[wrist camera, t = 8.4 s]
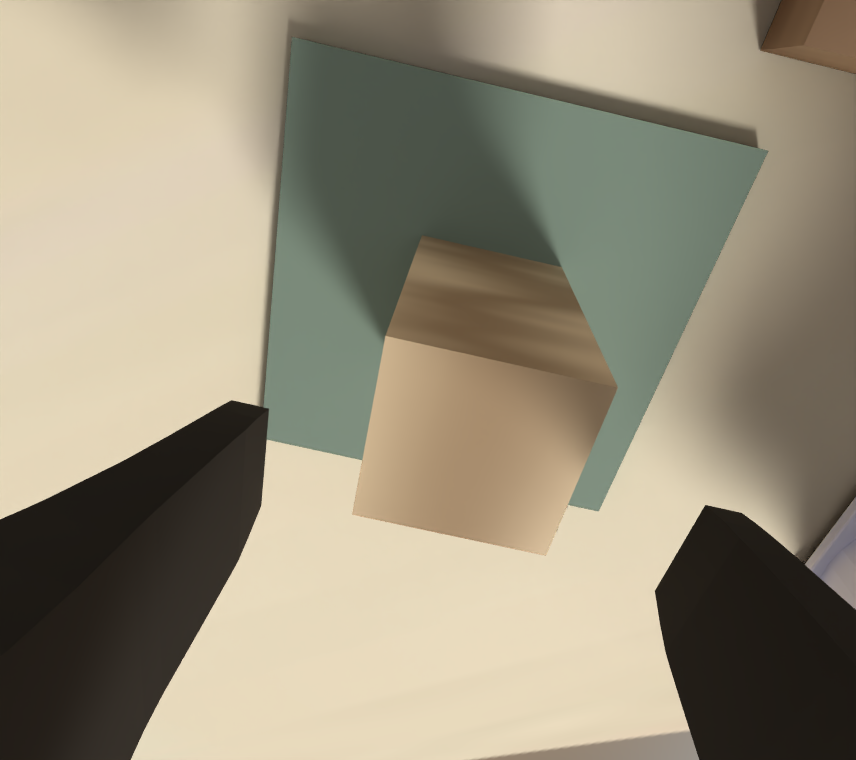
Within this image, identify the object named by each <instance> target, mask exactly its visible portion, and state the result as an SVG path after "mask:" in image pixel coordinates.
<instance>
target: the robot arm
mask: <svg viewBox="0 0 856 760" xmlns="http://www.w3.org/2000/svg"><path fill="white" fill-rule="evenodd" d="M268 417H269V408H264V407H259V406H255V405H250V404H246V403H241V402H237V401H232V400H231V401H229V402H228V403H226V404H224V405H222V406H220V407H218V408H217V409H215V410H213V411H211V412H210V413H208V414H206V415H204V416H203V417H201V418H199V419H197V420H196V421H194V422H192V423H190V424H189V425H187V426H185V427H183V428H182V429H180V430H178V431H176V432H175V433H173V434H171V435H169V436H168V437H166V438H164V439H162V440H160V441H159V442H157V443H155V444H153V445H151V446H149V447H148V448H146V449H144V450H142V451H140V452H139V453H137V454H135V455H133V456H131V457H130V458H128V459H126V460H124V461H122V462H120V463H118V464H116V465H114V466H112V467H110V468H108V469H106V470H104V471H102V472H100V473H98V474H96V475H94V476H92V477H90V478H88V479H86V480H84V481H82V482H80V483H78V484H76V485H74V486H72V487H70V488H68V489H66V490H64V491H62V492H60V493H58V494H56V495H54V496H52V497H50V498H48V499H45V500H43V501H41V502H39V503H37V504H34V505H32V506H30V507H28V508H26V509H23V510H21V511H19V512H16V513H14V514H12V515H9V516H7V517H5V518H3V519H0V760H131V758H132V755H133V753H134V751H135V749H136V747H137V745H138V742H139V740H140V738H141V736H142V734H143V731H144V729H145V727H146V725H147V723H148V722H149V720H150V718H151V716H152V714H153V712H154V710H155V708H156V706H157V704H158V702H159V700H160V698H161V697H162V695H163V693H164V691H165V689H166V688H167V686H168V684H169V682H170V681H171V679H172V677H173V675H174V674H175V672H176V670H177V668H178V666H179V665H180V663H181V661H182V659H183V658H184V656H185V654H186V652H187V651H188V649H189V647H190V645H191V644H192V642H193V640H194V638H195V637H196V635H197V633H198V631H199V630H200V628H201V626H202V624H203V623H204V621H205V619H206V617H207V616H208V614H209V612H210V610H211V609H212V607H213V605H214V603H215V601H216V600H217V598H218V596H219V594H220V593H221V591H222V589H223V587H224V585H225V584H226V582H227V580H228V578H229V576H230V575H231V573H232V571H233V569H234V567H235V566H236V564H237V562H238V560H239V558H240V555H241V553H242V551H243V548H244V546H245V544H246V541H247V539H248V537H249V534H250V532H251V529H252V527H253V524H254V522H255V519H256V517H257V515H258V512H259V510H260V507H261V501H262V489H263V477H264V465H265V453H266V441H267V429H268ZM655 594H656V601H657V607H658V614H659V620H660V626H661V631H662V636H663V641H664V646H665V651H666V655H667V658H668V662H669V665H670V669H671V672H672V675H673V678H674V682H675V685H676V688H677V691H678V694H679V698H680V701H681V704H682V707H683V710H684V713H685V717H686V720H687V723H688V726H689V729H690V732H691V735H692V738H693V741H694V745H695V748H696V751H697V754H698V757H699V760H856V497H855V498H854V500H853V501H852V502H851V504H850V505H849V506H848V508H847V509H846V510H845V512H844V513H843V514H842V516H841V517H840V518H839V520H838V521H837V522H836V524H835V525H834V526H833V528H832V529H831V530H830V532H829V533H828V534H827V536H826V537H825V538H824V540H823V541H822V542H821V544H820V545H819V546H818V548H817V549H816V550H815V551H814V553H813V554H812V555H811V557H810V558H809V559H808V561H807V562H806V563H805V565H804V564H803V563H802V562H801V561H800V560H799V559H798V558H796V557H795V556H794V555H793V554H792V553H791V552H790V551H788V550H787V549H786V548H785V547H784V546H783V545H781V544H780V543H779V542H778V541H777V540H776V539H774V538H773V537H772V536H771V535H770V534H768V533H767V532H766V531H765V530H763V529H762V528H761V527H760V526H758V525H757V524H756V523H755V522H753V521H752V520H750V519H749V518H748V517H746V516H745V515H744V514H742V513H739V512H735V511H730V510H726V509H721V508H716V507H712V506H707V505H705V507H704V508H703V510H702V512H701V514H700V515H699V517H698V519H697V520H696V522H695V524H694V525H693V527H692V529H691V531H690V532H689V534H688V536H687V537H686V539H685V541H684V542H683V544H682V546H681V548H680V549H679V551H678V553H677V554H676V556H675V558H674V559H673V561H672V563H671V565H670V566H669V568H668V570H667V571H666V573H665V575H664V576H663V578H662V580H661V582H660V583H659V585H658V587H657V588H656V590H655Z"/></svg>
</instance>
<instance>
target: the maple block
mask: <svg viewBox="0 0 856 760" xmlns="http://www.w3.org/2000/svg"><path fill="white" fill-rule="evenodd" d="M617 389H618V386H617V384H616V382H615V380H614V378H613V376H612V374H611V371H610V369H609V367H608V365H607V363H606V361H605V359H604V356H603V354H602V352H601V350H600V348H599V346H598V344H597V341H596V339H595V337H594V335H593V333H592V331H591V329H590V326H589V324H588V322H587V320H586V318H585V316H584V314H583V311H582V309H581V307H580V305H579V303H578V301H577V299H576V296H575V294H574V292H573V290H572V288H571V286H570V284H569V281H568V279H567V277H566V275H565V273H564V271H563V269H562V267H559V266H554V265H550V264H546V263H541V262H537V261H533V260H528V259H524V258H519V257H515V256H511V255H506V254H502V253H498V252H493V251H489V250H484V249H480V248H476V247H471V246H467V245H462V244H458V243H454V242H449V241H445V240H441V239H436V238H432V237H427V236H423V235H422V237H421V239H420V242H419V245H418V248H417V250H416V253H415V256H414V259H413V261H412V264H411V267H410V270H409V272H408V275H407V278H406V281H405V283H404V286H403V289H402V292H401V294H400V297H399V300H398V303H397V305H396V308H395V311H394V314H393V316H392V319H391V322H390V325H389V328H388V330H387V333H386V336H385V341H384V346H383V352H382V357H381V363H380V368H379V373H378V379H377V384H376V389H375V395H374V400H373V405H372V411H371V416H370V422H369V427H368V432H367V438H366V443H365V448H364V454H363V459H362V464H361V470H360V475H359V481H358V486H357V491H356V497H355V502H354V507H353V513H352V515H357V516H361V517H366V518H371V519H375V520H380V521H385V522H390V523H394V524H399V525H404V526H408V527H413V528H418V529H423V530H427V531H432V532H437V533H441V534H446V535H451V536H456V537H460V538H465V539H470V540H474V541H479V542H484V543H488V544H493V545H498V546H503V547H507V548H512V549H517V550H521V551H526V552H531V553H536V554H540V555H545V556H546V554H547V552H548V550H549V547H550V545H551V543H552V540H553V538H554V536H555V533H556V531H557V529H558V526H559V524H560V522H561V519H562V517H563V515H564V512H565V510H566V508H567V505H568V503H569V501H570V498H571V496H572V494H573V491H574V489H575V487H576V484H577V482H578V480H579V477H580V475H581V473H582V470H583V468H584V466H585V463H586V461H587V459H588V456H589V454H590V452H591V449H592V447H593V445H594V443H595V440H596V438H597V436H598V433H599V431H600V429H601V426H602V424H603V422H604V419H605V417H606V415H607V412H608V410H609V408H610V405H611V403H612V401H613V398H614V396H615V394H616V391H617Z"/></svg>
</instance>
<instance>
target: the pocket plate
mask: <svg viewBox="0 0 856 760" xmlns="http://www.w3.org/2000/svg"><path fill="white" fill-rule="evenodd" d="M760 51H764V52H768V53H773V54H777V55H781V56H785V57H789V58H793V59H797V60H801V61H805V62H809V63H813V64H818V65H822V66H826V67H830V68H834V69H838V70H842V71H846V72H850V73H854V74H856V0H782V1H781V3H780V5H779V8H778V10H777V12H776V15H775V17H774V19H773V22H772V24H771V26H770V29H769V31H768V33H767V36H766V38H765V40H764V43H763V45H762V47H761V50H760Z"/></svg>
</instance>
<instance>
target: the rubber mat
mask: <svg viewBox="0 0 856 760" xmlns="http://www.w3.org/2000/svg"><path fill="white" fill-rule="evenodd" d="M767 153H768V151H767V150H763V149H759V148H755V147H751V146H747V145H742V144H738V143H734V142H730V141H726V140H721V139H717V138H713V137H709V136H705V135H701V134H696V133H692V132H688V131H684V130H680V129H675V128H671V127H667V126H663V125H659V124H655V123H650V122H646V121H642V120H638V119H634V118H629V117H625V116H621V115H617V114H613V113H609V112H604V111H600V110H596V109H592V108H588V107H584V106H579V105H575V104H571V103H567V102H563V101H558V100H554V99H550V98H546V97H542V96H538V95H533V94H529V93H525V92H521V91H517V90H512V89H508V88H504V87H500V86H496V85H492V84H487V83H483V82H479V81H475V80H471V79H466V78H462V77H458V76H454V75H450V74H446V73H441V72H437V71H433V70H429V69H425V68H420V67H416V66H412V65H408V64H404V63H400V62H395V61H391V60H387V59H383V58H379V57H375V56H370V55H366V54H362V53H358V52H354V51H349V50H345V49H341V48H337V47H333V46H329V45H324V44H320V43H316V42H312V41H308V40H303V39H299V38H295V37H292V43H291V56H290V69H289V82H288V95H287V108H286V121H285V134H284V147H283V160H282V173H281V186H280V199H279V212H278V225H277V238H276V251H275V264H274V277H273V290H272V303H271V316H270V329H269V342H268V355H267V368H266V381H265V394H264V408H269V417H268V429H267V440H272V441H276V442H281V443H286V444H290V445H295V446H299V447H304V448H309V449H313V450H318V451H322V452H327V453H332V454H336V455H341V456H345V457H350V458H355V459H359V460H362V459H363V454H364V448H365V443H366V438H367V432H368V427H369V422H370V416H371V411H372V405H373V400H374V395H375V389H376V384H377V379H378V373H379V368H380V363H381V357H382V352H383V346H384V341H385V336H386V333H387V330H388V328H389V325H390V322H391V319H392V316H393V314H394V311H395V308H396V305H397V303H398V300H399V297H400V294H401V292H402V289H403V286H404V283H405V281H406V278H407V275H408V272H409V270H410V267H411V264H412V261H413V259H414V256H415V253H416V250H417V248H418V245H419V242H420V239H421V237H422V235H423V236H427V237H432V238H436V239H441V240H445V241H449V242H454V243H458V244H462V245H467V246H471V247H476V248H480V249H484V250H489V251H493V252H498V253H502V254H506V255H511V256H515V257H519V258H524V259H528V260H533V261H537V262H541V263H546V264H550V265H554V266H559V267H562V269H563V271H564V273H565V275H566V277H567V279H568V281H569V284H570V286H571V288H572V290H573V292H574V294H575V296H576V299H577V301H578V303H579V305H580V307H581V309H582V311H583V314H584V316H585V318H586V320H587V322H588V324H589V326H590V329H591V331H592V333H593V335H594V337H595V339H596V341H597V344H598V346H599V348H600V350H601V352H602V354H603V356H604V359H605V361H606V363H607V365H608V367H609V369H610V371H611V374H612V376H613V378H614V380H615V382H616V384H617V386H618V389H617V391H616V394H615V396H614V398H613V401H612V403H611V405H610V408H609V410H608V412H607V415H606V417H605V419H604V422H603V424H602V426H601V429H600V431H599V433H598V436H597V438H596V440H595V443H594V445H593V447H592V449H591V452H590V454H589V456H588V459H587V461H586V463H585V466H584V468H583V470H582V473H581V475H580V477H579V480H578V482H577V484H576V487H575V489H574V491H573V494H572V496H571V498H570V501H569V503H568V505H571V506H576V507H581V508H585V509H590V510H594V511H599V510H600V507H601V505H602V503H603V501H604V499H605V497H606V495H607V493H608V490H609V488H610V486H611V484H612V482H613V480H614V478H615V476H616V473H617V471H618V469H619V467H620V465H621V463H622V461H623V459H624V456H625V454H626V452H627V450H628V448H629V446H630V444H631V442H632V439H633V437H634V435H635V433H636V431H637V429H638V427H639V425H640V422H641V420H642V418H643V416H644V414H645V412H646V410H647V408H648V405H649V403H650V401H651V399H652V397H653V395H654V393H655V391H656V388H657V386H658V384H659V382H660V380H661V378H662V376H663V374H664V371H665V369H666V367H667V365H668V363H669V361H670V359H671V357H672V354H673V352H674V350H675V348H676V346H677V344H678V342H679V340H680V337H681V335H682V333H683V331H684V329H685V327H686V325H687V323H688V321H689V318H690V316H691V314H692V312H693V310H694V308H695V306H696V304H697V301H698V299H699V297H700V295H701V293H702V291H703V289H704V287H705V284H706V282H707V280H708V278H709V276H710V274H711V272H712V270H713V267H714V265H715V263H716V261H717V259H718V257H719V255H720V253H721V250H722V248H723V246H724V244H725V242H726V240H727V238H728V236H729V233H730V231H731V229H732V227H733V225H734V223H735V221H736V219H737V216H738V214H739V212H740V210H741V208H742V206H743V204H744V202H745V199H746V197H747V195H748V193H749V191H750V189H751V187H752V185H753V182H754V180H755V178H756V176H757V174H758V172H759V170H760V168H761V165H762V163H763V161H764V159H765V157H766V155H767Z"/></svg>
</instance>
